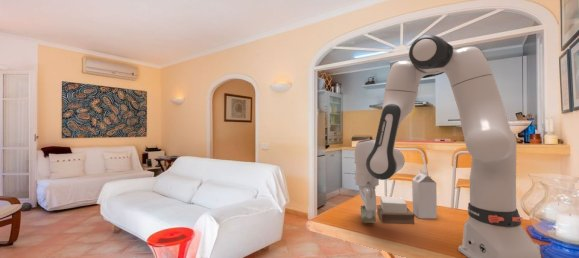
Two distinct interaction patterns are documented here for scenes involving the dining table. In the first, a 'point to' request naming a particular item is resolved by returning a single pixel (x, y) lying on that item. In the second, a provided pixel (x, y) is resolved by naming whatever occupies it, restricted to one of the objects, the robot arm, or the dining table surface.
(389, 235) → the dining table surface
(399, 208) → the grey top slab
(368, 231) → the dining table surface
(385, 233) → the dining table surface
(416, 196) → the milk carton
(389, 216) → the walnut base slab
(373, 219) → the sage cube
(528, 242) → the robot arm
